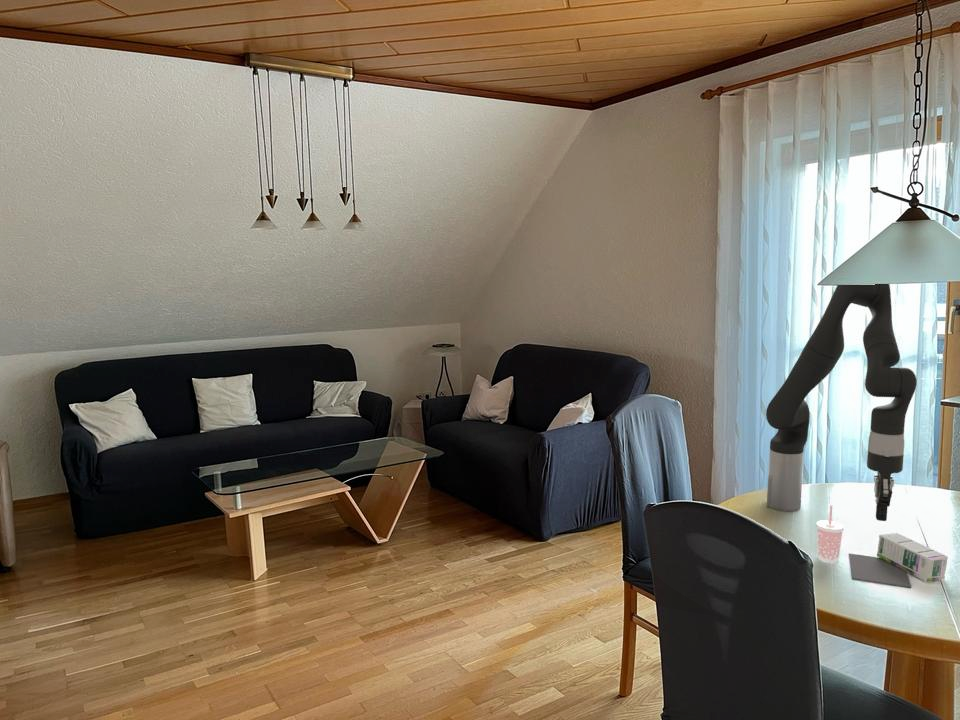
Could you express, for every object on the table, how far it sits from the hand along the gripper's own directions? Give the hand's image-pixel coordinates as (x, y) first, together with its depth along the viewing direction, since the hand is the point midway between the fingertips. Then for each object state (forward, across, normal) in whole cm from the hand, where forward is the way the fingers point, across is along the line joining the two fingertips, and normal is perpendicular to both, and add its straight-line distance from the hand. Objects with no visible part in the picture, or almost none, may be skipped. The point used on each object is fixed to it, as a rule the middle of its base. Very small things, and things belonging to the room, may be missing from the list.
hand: (881, 519), depth 178 cm
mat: (+11, +4, 0) cm, 12 cm away
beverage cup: (+11, +2, -11) cm, 16 cm away
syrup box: (+8, -5, +2) cm, 10 cm away
